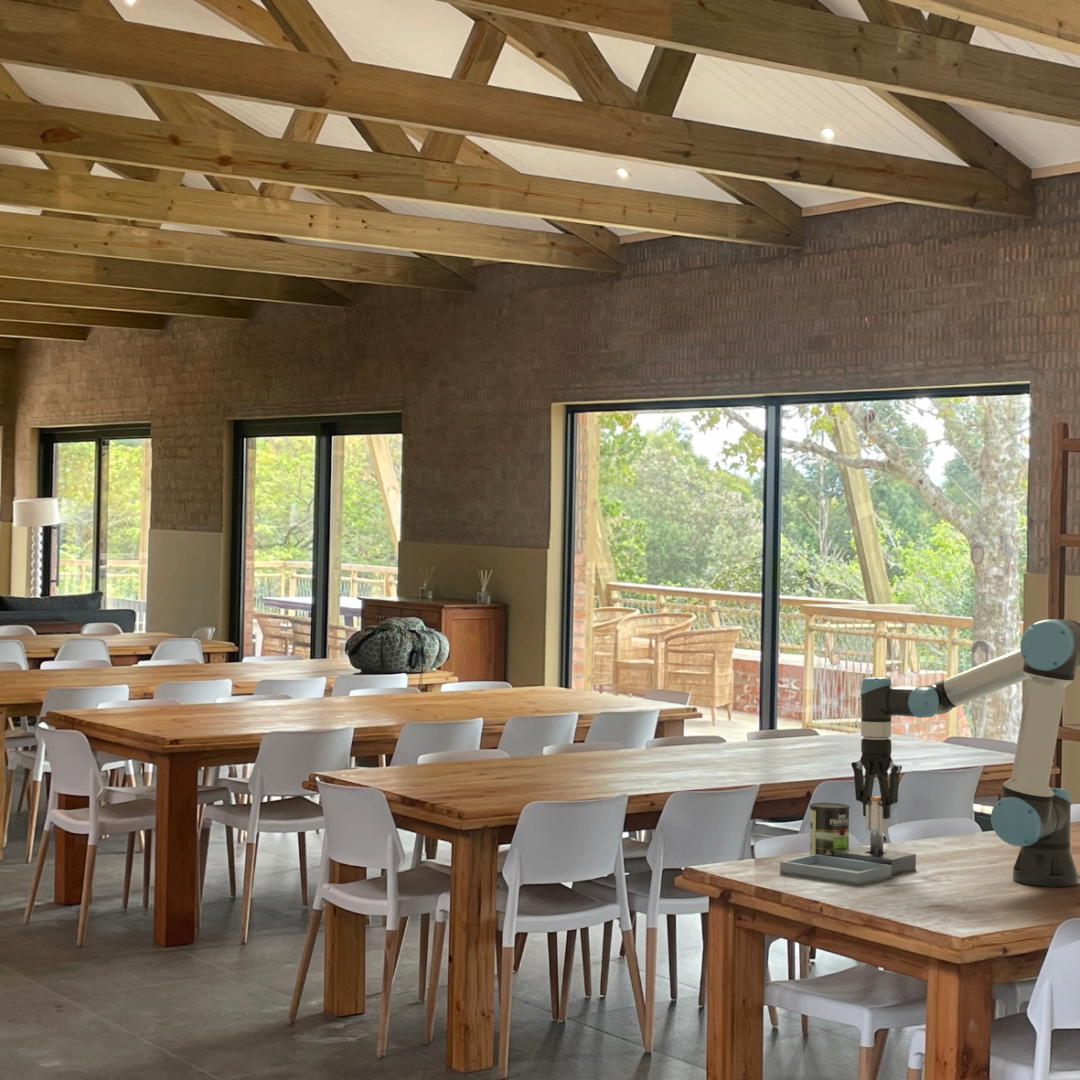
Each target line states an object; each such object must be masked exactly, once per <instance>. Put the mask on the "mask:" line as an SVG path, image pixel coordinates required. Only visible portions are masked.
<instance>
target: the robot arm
mask: <svg viewBox="0 0 1080 1080" xmlns="http://www.w3.org/2000/svg"><path fill="white" fill-rule="evenodd" d="M1020 639H1021V640H1020V644H1019V648H1018V649H1016V650H1013V651H1011V652H1008V653H1006V654H1004V655H1000V656H998V657H995V658H993V659H990V660H989V661H986V662H984V663H981V664H978V665H976V666H973V667H972V668H969V669H967V670H964V671H962V672H959V673H957V674H955V675H952V676H949V677H947V678H945V679H943V680H940V681H937V682H935V683H931V684H928V685H915V686H907V685H906V686H901V685H900V686H897V685H893V684H892V680H891V678H889V677H880V676H879V677H878V676H876V677H873V676H871V677H869V676H868V677H864V678H863V679H862V681H861V687H860V689H861V690H860V695H859V696H860V700H861V701H860V702H861V703H860V706H861V719H860V720H861V721H860V722H861V723H860V726H861V727H860V729H861V730H860V735H861V737H863V738H861V740H860V741H861V742H860V743H861V744H860V749H861V751H860V752H861V754H862V755H861V757H860V759H859V760H857V761H852V762H851V764H850V765H851V768H852V769H853V776H854V779H853V780H854V790H855V793H854V794H855V801H857V802H860V803H862V815H863V817H865V831H869V832H870V797H873V789H874V781H875V777H877V780H878V784H879V792H880V797H881V800H882V804H881V806H879V832H883V833H884V832H888V820H889V819H890V818H891V806H893V805H894V804H897V803H898V799H899V784H900V774H901V771H902V769H903V766H902V765H901V764H897V763H894V761H893V759H892V756H891V755H892V740H891V737H892V716H900V717H911V718H919V719H922V718H932V717H934V716H935V715H944V714H947V713H948V712H950V711H952V710H953V709H955V708H956V707H959V706H961V705H964V704H967V703H969V702H971V701H974V700H976V699H979V698H982V697H984V696H987V695H989V694H992V693H995V692H997V691H999V690H1002V689H1005V688H1007V687H1010V686H1012V685H1015V684H1017V683H1020V682H1023V681H1025V680H1027V682H1026V683H1027V684H1026V690H1025V696H1024V701H1023V707H1022V714H1021V717H1020V726H1019V731H1018V736H1017V743H1016V749H1015V755H1014V759H1013V766H1012V771H1011V777H1010V778H1009V779H1008V780H1006V781H1004V782H1003V784H1002V791H1001V795H1000V799H999V800H998V801H997V802H996V803H995V804H994V806H993V808H992V809H991V810H992V811H991V812H990V813H991V814H990V823H991V826H992V828H993V830H994V833H995V834H996V835H997V836H998V837H999V839H1000V840H1002V841H1003V842H1004V843H1006V844H1008V845H1010V846H1013V847H1020V848H1019V851H1018V854H1017V857H1016V860H1015V862H1014V866H1013V868H1012V880H1013V881H1015V882H1016V883H1017V882H1018V883H1021V884H1025V885H1031V886H1041V887H1053V888H1054V887H1057V888H1058V887H1063V888H1064V887H1072V886H1076V885H1078V884H1079V875H1078V874H1079V873H1078V870H1077V868H1076V864H1075V862H1074V858H1073V854H1072V853H1071V806H1072V802H1071V794H1070V792H1069V790H1067V789H1065V788H1060V787H1059V788H1057V787H1050V779H1051V775H1052V766H1053V761H1054V755H1055V750H1056V745H1057V741H1058V740H1057V739H1058V734H1059V728H1060V723H1061V717H1062V716H1061V715H1062V710H1063V704H1064V698H1065V693H1066V692H1065V691H1066V687H1067V686H1068V685H1070V684H1072V683H1073V682H1074V680H1075V676H1076V671H1077V670H1076V669H1077V667H1078V666H1080V622H1079V621H1077V620H1072V619H1053V618H1052V619H1051V618H1048V619H1047V618H1046V619H1043V620H1040V621H1036V622H1035V623H1033V624H1031V625H1030V626H1029V627H1028V628H1026V630H1025V631H1024V632H1023V634H1022V636H1021V638H1020ZM863 769H864V770H865V771H863ZM888 771H890V775H889V772H888ZM864 777H865V779H864ZM888 779H889V780H888Z"/></svg>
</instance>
